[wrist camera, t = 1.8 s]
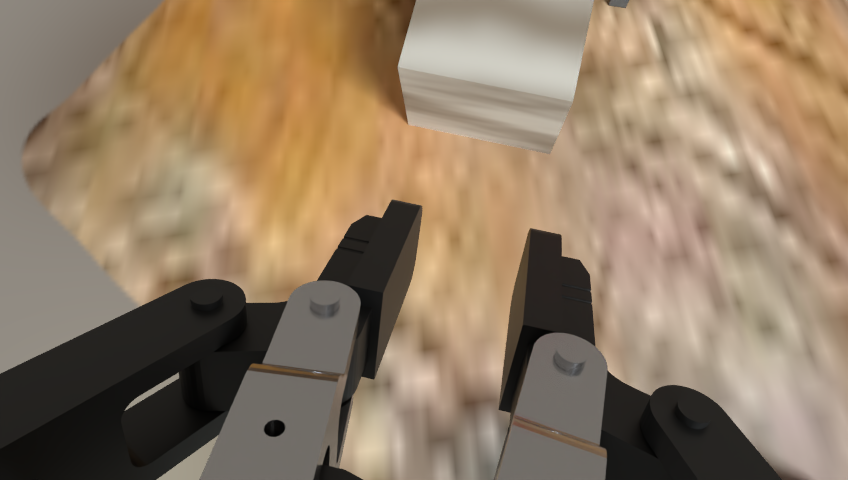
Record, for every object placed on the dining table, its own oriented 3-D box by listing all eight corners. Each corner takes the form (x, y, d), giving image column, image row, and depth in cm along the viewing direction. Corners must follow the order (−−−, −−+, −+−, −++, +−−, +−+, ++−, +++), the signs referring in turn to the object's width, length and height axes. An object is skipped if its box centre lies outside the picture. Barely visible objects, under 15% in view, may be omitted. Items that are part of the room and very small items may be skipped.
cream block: (441, 2, 43) (438, -81, 35) (576, 27, 42) (604, -53, 34) (408, 125, 41) (397, 67, 33) (549, 154, 39) (572, 101, 32)
